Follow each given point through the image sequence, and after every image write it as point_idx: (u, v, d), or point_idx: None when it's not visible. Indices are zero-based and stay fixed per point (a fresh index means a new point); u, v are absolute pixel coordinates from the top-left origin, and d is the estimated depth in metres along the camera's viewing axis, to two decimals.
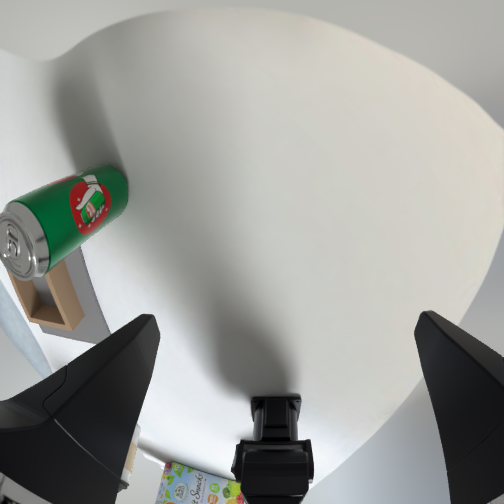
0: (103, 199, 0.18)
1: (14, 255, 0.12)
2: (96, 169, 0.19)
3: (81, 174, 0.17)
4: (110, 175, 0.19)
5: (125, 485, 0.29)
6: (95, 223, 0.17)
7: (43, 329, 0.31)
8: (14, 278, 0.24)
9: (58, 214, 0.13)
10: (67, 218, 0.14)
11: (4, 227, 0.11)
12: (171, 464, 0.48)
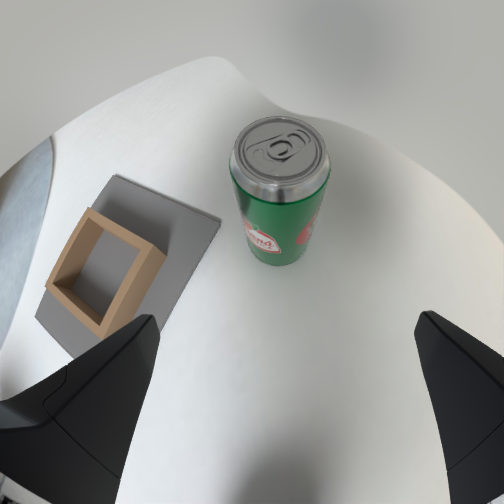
0: None
1: (276, 153, 0.12)
2: None
3: None
4: None
5: None
6: (304, 235, 0.17)
7: (38, 314, 0.23)
8: (81, 231, 0.22)
9: None
10: None
11: (289, 128, 0.13)
12: None
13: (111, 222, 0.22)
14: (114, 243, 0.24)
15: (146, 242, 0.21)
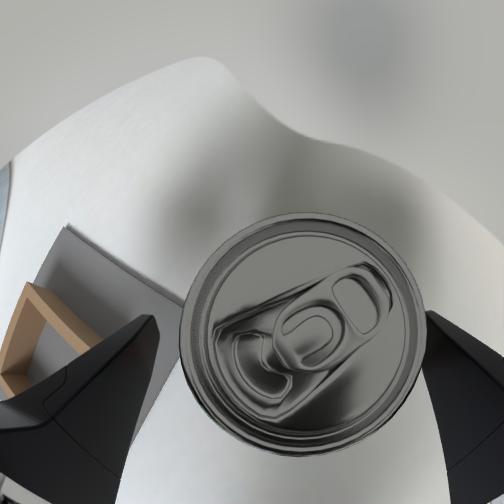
0: None
1: (298, 358, 0.04)
2: None
3: None
4: None
5: None
6: None
7: None
8: (22, 314, 0.14)
9: None
10: None
11: (339, 259, 0.05)
12: None
13: (51, 312, 0.14)
14: None
15: None
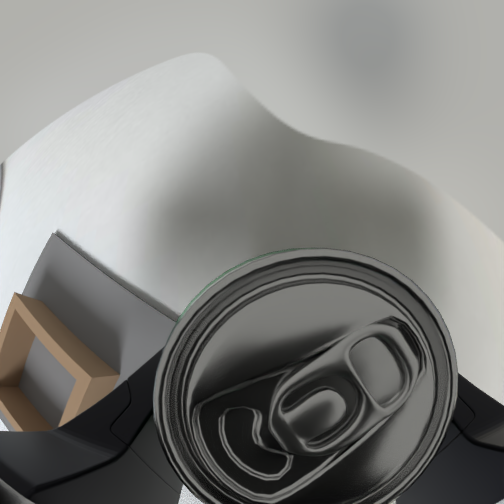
0: None
1: (302, 440, 0.03)
2: None
3: None
4: None
5: None
6: None
7: None
8: (10, 326, 0.13)
9: None
10: None
11: (360, 313, 0.03)
12: None
13: (39, 326, 0.12)
14: None
15: (82, 371, 0.11)
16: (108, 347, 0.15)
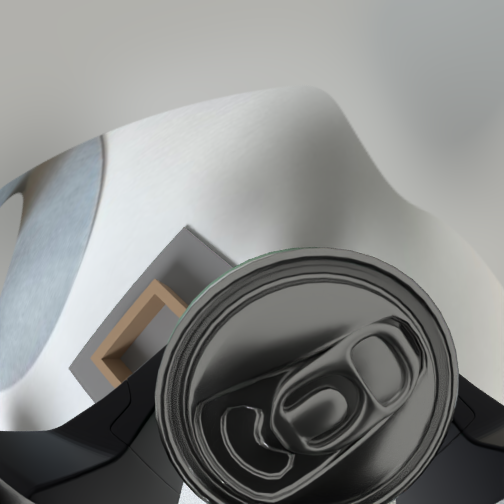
0: None
1: (303, 439, 0.03)
2: None
3: None
4: None
5: None
6: None
7: (74, 368, 0.21)
8: (144, 307, 0.19)
9: None
10: None
11: (362, 313, 0.03)
12: None
13: None
14: None
15: None
16: None
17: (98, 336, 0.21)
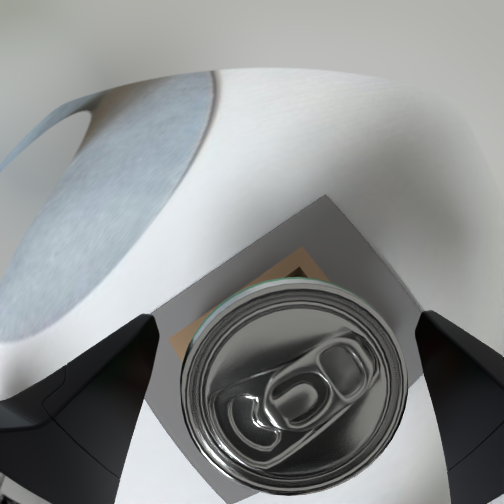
0: None
1: (286, 419, 0.04)
2: None
3: None
4: None
5: None
6: None
7: None
8: None
9: None
10: None
11: (328, 330, 0.05)
12: None
13: None
14: None
15: None
16: None
17: (173, 307, 0.17)
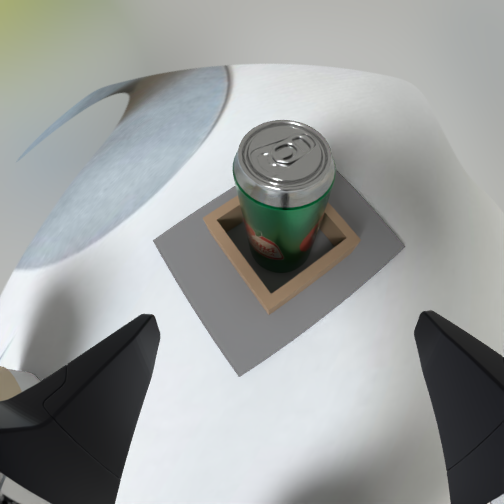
0: None
1: (280, 157, 0.12)
2: None
3: None
4: None
5: None
6: (308, 241, 0.17)
7: (161, 241, 0.24)
8: None
9: None
10: None
11: (294, 131, 0.12)
12: None
13: None
14: None
15: (354, 234, 0.20)
16: None
17: (202, 212, 0.25)
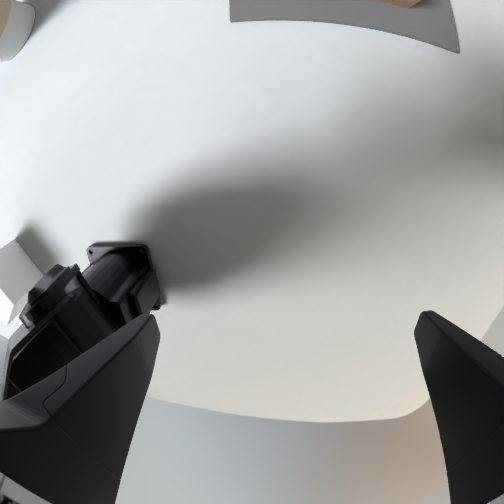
0: None
1: None
2: None
3: None
4: None
5: None
6: None
7: None
8: None
9: None
10: None
11: None
12: None
13: None
14: None
15: None
16: None
17: None
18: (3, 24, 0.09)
